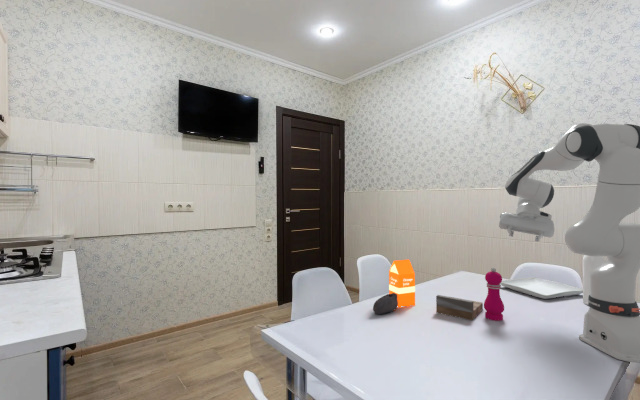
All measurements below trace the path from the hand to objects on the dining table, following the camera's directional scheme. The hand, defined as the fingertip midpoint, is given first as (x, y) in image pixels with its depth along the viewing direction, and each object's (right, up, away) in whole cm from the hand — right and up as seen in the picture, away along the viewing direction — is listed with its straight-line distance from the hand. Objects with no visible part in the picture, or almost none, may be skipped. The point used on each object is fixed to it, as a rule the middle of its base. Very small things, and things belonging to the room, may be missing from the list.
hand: (524, 237), depth 136 cm
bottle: (+37, -31, +8) cm, 49 cm away
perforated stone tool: (-58, -32, 0) cm, 66 cm away
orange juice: (-49, -32, +11) cm, 59 cm away
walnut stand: (-27, -31, +1) cm, 41 cm away
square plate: (+27, -32, +30) cm, 51 cm away
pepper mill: (-17, -31, -8) cm, 36 cm away
